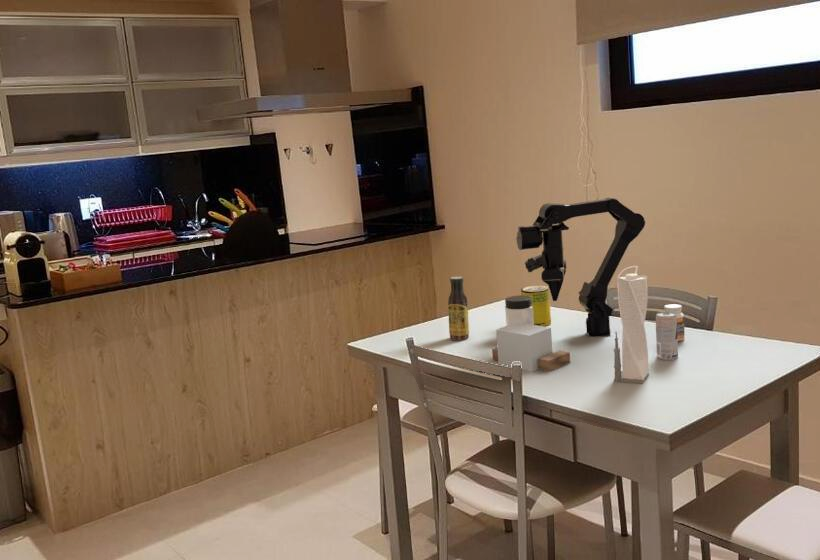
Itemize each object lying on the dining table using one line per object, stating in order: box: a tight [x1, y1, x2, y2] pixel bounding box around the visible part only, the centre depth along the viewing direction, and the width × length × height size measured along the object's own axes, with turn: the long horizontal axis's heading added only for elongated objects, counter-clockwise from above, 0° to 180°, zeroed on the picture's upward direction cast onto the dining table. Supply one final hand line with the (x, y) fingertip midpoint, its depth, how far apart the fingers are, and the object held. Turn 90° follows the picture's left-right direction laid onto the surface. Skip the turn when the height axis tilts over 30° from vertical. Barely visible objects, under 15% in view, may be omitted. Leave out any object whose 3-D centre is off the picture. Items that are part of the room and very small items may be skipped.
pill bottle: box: [663, 303, 685, 342], centre depth 217 cm, size 6×6×10 cm
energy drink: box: [655, 311, 679, 361], centre depth 202 cm, size 5×5×12 cm
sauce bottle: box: [447, 276, 470, 341], centre depth 239 cm, size 6×6×20 cm
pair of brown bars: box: [491, 346, 571, 373], centre depth 211 cm, size 9×20×3 cm, turn 40°
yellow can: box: [520, 285, 552, 327], centre depth 248 cm, size 9×9×12 cm
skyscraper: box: [613, 265, 650, 385], centre depth 188 cm, size 8×8×28 cm
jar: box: [504, 294, 534, 326], centre depth 236 cm, size 9×8×12 cm
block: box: [495, 322, 554, 372], centre depth 209 cm, size 9×12×10 cm
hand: (555, 297), depth 227 cm, fingers open, 9 cm apart
